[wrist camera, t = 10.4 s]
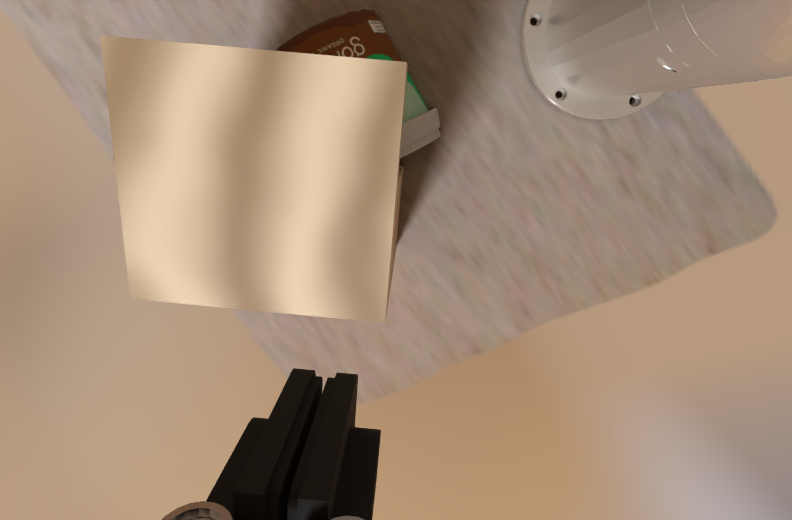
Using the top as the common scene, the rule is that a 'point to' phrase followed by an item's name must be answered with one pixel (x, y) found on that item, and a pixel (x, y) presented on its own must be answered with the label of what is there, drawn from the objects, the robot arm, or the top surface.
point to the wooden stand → (257, 176)
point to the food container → (370, 41)
